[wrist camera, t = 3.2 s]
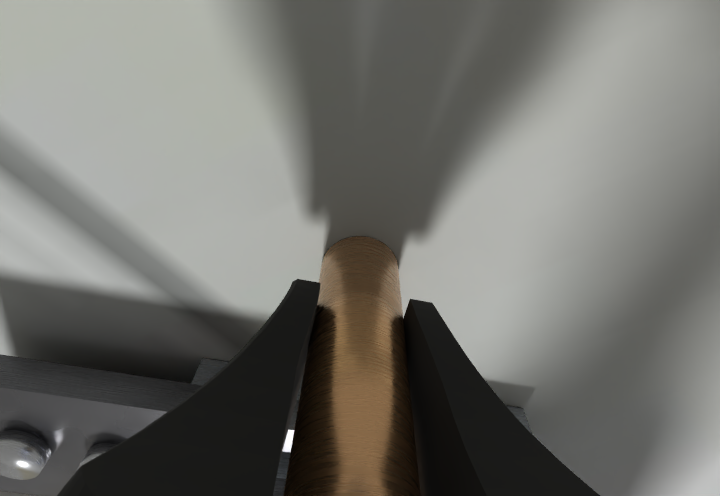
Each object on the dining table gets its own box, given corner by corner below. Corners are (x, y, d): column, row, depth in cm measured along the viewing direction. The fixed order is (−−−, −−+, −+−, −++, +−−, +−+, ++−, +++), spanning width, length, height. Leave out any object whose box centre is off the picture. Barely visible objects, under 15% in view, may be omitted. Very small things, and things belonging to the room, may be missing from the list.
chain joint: (523, 408, 17) (550, 483, 15) (471, 493, 20) (486, 568, 18) (8, 327, 15) (-64, 396, 13) (37, 433, 18) (-16, 506, 16)
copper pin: (406, 244, 13) (445, 520, 7) (387, 305, 15) (404, 590, 8) (328, 229, 13) (284, 499, 6) (316, 292, 14) (268, 574, 8)
